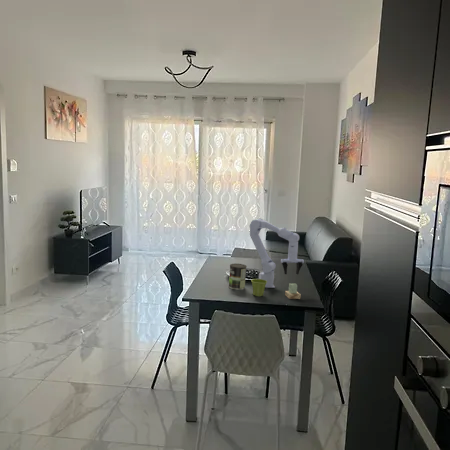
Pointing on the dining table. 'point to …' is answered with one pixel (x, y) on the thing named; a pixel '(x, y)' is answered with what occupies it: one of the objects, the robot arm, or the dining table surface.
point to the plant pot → (258, 286)
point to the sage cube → (292, 288)
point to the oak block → (292, 295)
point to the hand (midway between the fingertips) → (291, 274)
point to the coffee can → (237, 276)
